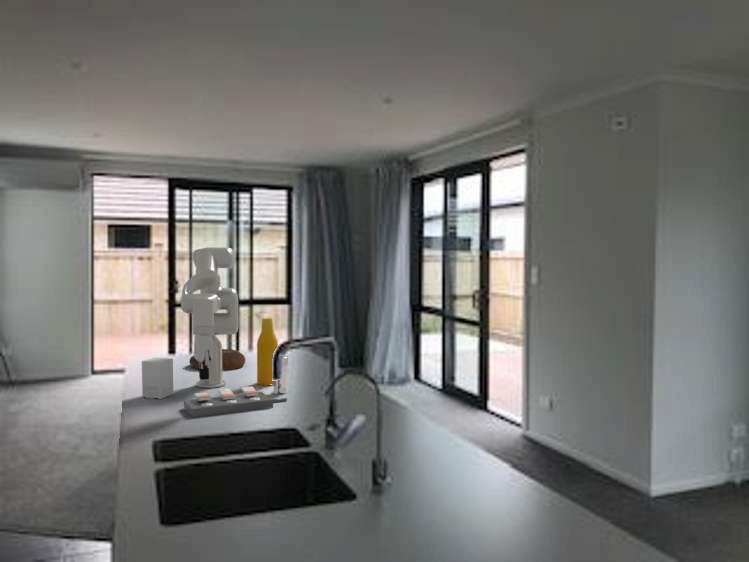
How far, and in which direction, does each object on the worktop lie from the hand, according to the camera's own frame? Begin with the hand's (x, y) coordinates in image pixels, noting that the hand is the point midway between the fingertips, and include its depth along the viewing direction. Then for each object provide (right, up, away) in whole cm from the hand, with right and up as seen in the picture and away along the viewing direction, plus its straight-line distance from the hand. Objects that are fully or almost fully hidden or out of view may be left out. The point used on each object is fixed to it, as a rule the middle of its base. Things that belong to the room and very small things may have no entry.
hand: (204, 378), depth 232 cm
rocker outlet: (-1, -7, +2) cm, 8 cm away
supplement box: (-24, -11, +21) cm, 34 cm away
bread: (-16, -7, +86) cm, 87 cm away
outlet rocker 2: (+15, -7, +10) cm, 19 cm away
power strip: (+12, -11, +6) cm, 17 cm away
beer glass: (+24, -10, +29) cm, 39 cm away
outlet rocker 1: (+7, -7, +6) cm, 12 cm away
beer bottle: (+16, -9, +46) cm, 49 cm away
